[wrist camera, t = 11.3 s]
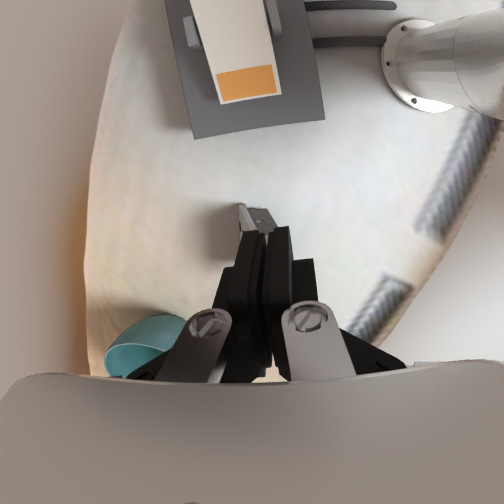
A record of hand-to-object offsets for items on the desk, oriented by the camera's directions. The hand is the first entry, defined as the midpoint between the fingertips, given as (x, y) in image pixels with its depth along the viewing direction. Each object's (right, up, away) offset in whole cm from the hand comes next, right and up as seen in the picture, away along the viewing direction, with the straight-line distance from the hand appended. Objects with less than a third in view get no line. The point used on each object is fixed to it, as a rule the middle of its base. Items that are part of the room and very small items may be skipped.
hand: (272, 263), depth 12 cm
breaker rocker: (-2, +21, +10) cm, 23 cm away
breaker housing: (-1, +26, +19) cm, 32 cm away
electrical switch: (0, +3, +32) cm, 33 cm away
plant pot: (-15, -14, +44) cm, 49 cm away
